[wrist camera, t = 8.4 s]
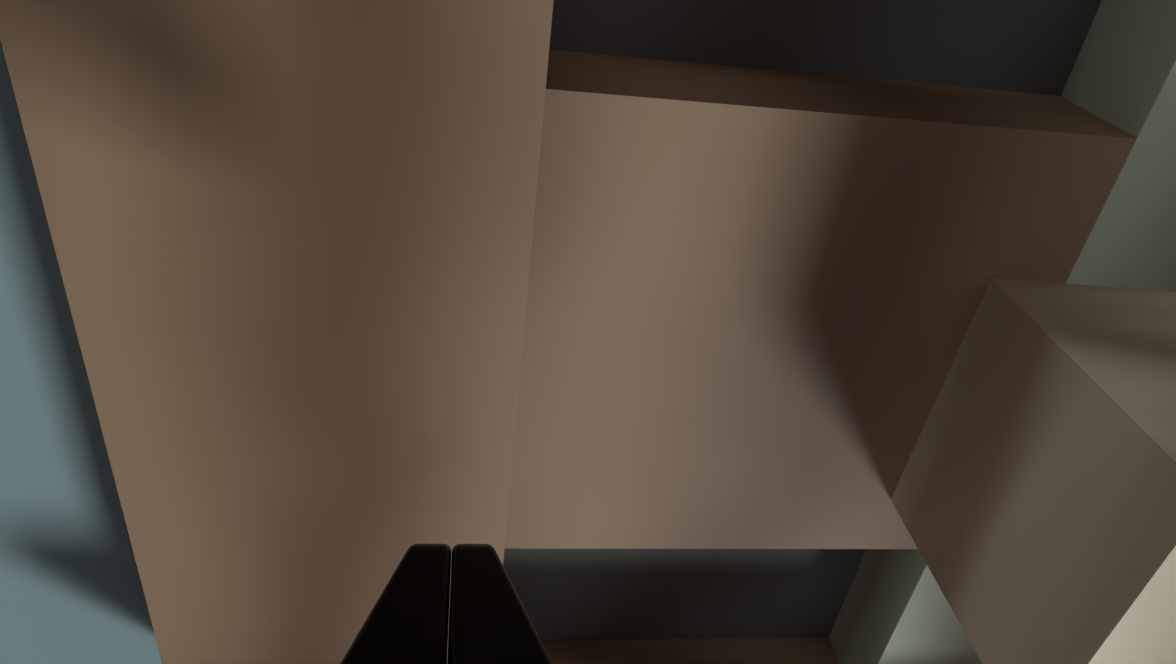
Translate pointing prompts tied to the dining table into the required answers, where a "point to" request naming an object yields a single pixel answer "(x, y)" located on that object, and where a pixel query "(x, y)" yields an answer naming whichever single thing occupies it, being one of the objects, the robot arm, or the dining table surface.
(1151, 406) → the beech block
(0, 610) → the dining table surface
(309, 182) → the shallow wooden tray
